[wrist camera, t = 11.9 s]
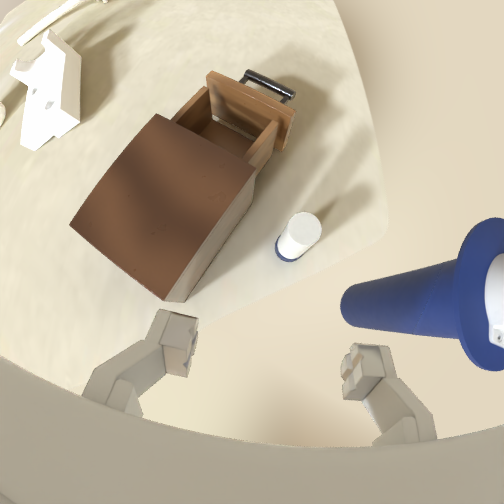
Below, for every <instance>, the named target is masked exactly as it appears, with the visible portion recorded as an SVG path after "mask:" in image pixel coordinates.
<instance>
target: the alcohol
mask: <svg viewBox="0 0 504 504" xmlns="http://www.w3.org/2000/svg"><path fill="white" fill-rule="evenodd" d="M5 114H6V112H5V106H4V105H3V104H2V103H1V102H0V127H1V125H2V123H3V121H4V119H5Z"/></svg>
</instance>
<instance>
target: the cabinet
mask: <svg viewBox="0 0 504 504" xmlns="http://www.w3.org/2000/svg"><path fill="white" fill-rule="evenodd" d="M256 170H257V168H256V167H254V166H252V165H251V164H249V163H247V162H245V161H244V160H242V159H240V158H239V157H237V156H235V155H233V154H232V153H230V152H228V151H226V150H225V149H223V148H221V147H219V146H217V145H216V144H214V143H212V142H210V141H208V140H207V139H205V138H203V137H201V136H199V135H197V134H195V133H194V132H192V131H190V130H188V129H186V128H184V127H182V126H180V125H178V124H176V123H175V122H173V121H171V120H169V119H167V118H165V117H163V116H161V115H159V114H157V113H156V114H155V115H154V116H153V117H152V118H151V120H150V121H149V122H148V123H147V124H146V125H145V126H144V127H143V128H142V129H141V131H140V132H139V133H138V134H137V135H136V136H135V137H134V139H133V140H132V141H131V142H130V143H129V144H128V146H127V147H126V148H125V149H124V150H123V152H122V153H121V154H120V155H119V156H118V158H117V159H116V160H115V161H114V163H113V164H112V165H111V167H110V168H109V169H108V170H107V172H106V173H105V174H104V176H103V177H102V178H101V180H100V181H99V182H98V184H97V185H96V186H95V188H94V189H93V190H92V192H91V193H90V195H89V196H88V197H87V199H86V200H85V202H84V203H83V205H82V206H81V207H80V209H79V210H78V212H77V213H76V215H75V216H74V218H73V219H72V221H71V222H70V224H69V225H70V226H71V227H72V228H73V229H74V230H75V231H76V232H77V233H79V234H80V235H81V236H82V237H83V238H84V239H86V240H87V241H88V242H89V243H90V244H91V245H93V246H94V247H95V248H96V249H97V250H98V251H100V252H101V253H102V254H103V255H105V256H106V257H107V258H108V259H109V260H111V261H112V262H113V263H114V264H116V265H117V266H118V267H119V268H121V269H122V270H123V271H124V272H126V273H127V274H128V275H129V276H131V277H132V278H133V279H135V280H136V281H137V282H138V283H140V284H141V285H142V286H144V287H145V288H146V289H148V290H149V291H150V292H152V293H153V294H154V295H156V296H157V297H158V298H160V299H161V300H162V301H169V302H180V303H184V302H185V300H186V299H187V297H188V296H189V294H190V293H191V291H192V290H193V288H194V287H195V285H196V284H197V282H198V281H199V279H200V278H201V276H202V275H203V273H204V272H205V270H206V269H207V267H208V266H209V265H210V263H211V262H212V260H213V259H214V257H215V256H216V254H217V253H218V251H219V250H220V248H221V247H222V246H223V244H224V243H225V241H226V240H227V238H228V237H229V235H230V234H231V233H232V231H233V230H234V228H235V227H236V225H237V224H238V222H239V221H240V220H241V218H242V217H243V215H244V214H245V212H246V211H247V210H248V208H249V207H250V205H251V204H252V200H253V193H254V185H255V177H256Z"/></svg>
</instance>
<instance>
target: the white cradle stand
mask: <svg viewBox="0 0 504 504" xmlns="http://www.w3.org/2000/svg"><path fill="white" fill-rule="evenodd" d="M41 44H43V46H44V47H45V50H46V51H45V52H44V53H43V54H42V55H41V56H40V57H38V58H36V59H34V60H30V61H23V60H20V59H18V58H17V59H16V60H15V61H14V62H13V65H12V68H11V71H10V75H12V76H14V77H15V78H17V79H18V80H20V81H21V82H23V83H24V84H26V85H27V86H29V87H28V92H27V98H26V104H25V110H24V117H23V125H22V134H21V145H23V146H26V147H28V148H30V149H32V150H34V151H36V150H37V149H38V148H39V147H41V146H42V145H43V144H44V143H45V142H46V141H48V140H49V139H50V138H51V137H52V136H56V137H58V138H60V137H61V136H62V135H64V134H65V133H66V132H68V131H69V130H70V129H72V128H73V127H74V126H76V125H77V124H78V123H80V78H81V59H82V57H81V56H80V55H79V54H78V53H77V52H76V51H74V50H73V49H72V48H71V47H70V46H69V45H68V44H67V43H65V42H64V41H63V40H62V39H61V38H60V37H59V36H57V35H56V34H55V33H54V32H53V31H52V30H51V29H49V30H48V31H46V32H45V33H44V36H43V39H42V43H41Z"/></svg>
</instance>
